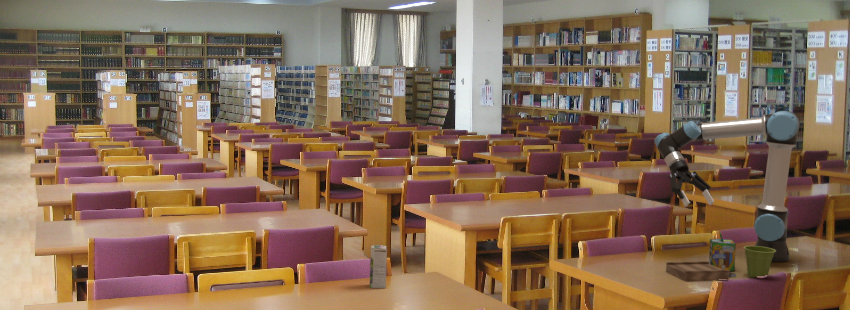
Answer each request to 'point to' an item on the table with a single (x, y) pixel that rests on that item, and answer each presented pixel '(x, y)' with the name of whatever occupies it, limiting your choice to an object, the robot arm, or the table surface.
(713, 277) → the tray
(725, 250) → the chalk box
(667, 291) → the table surface
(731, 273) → the grey stepped bar
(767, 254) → the plant pot
